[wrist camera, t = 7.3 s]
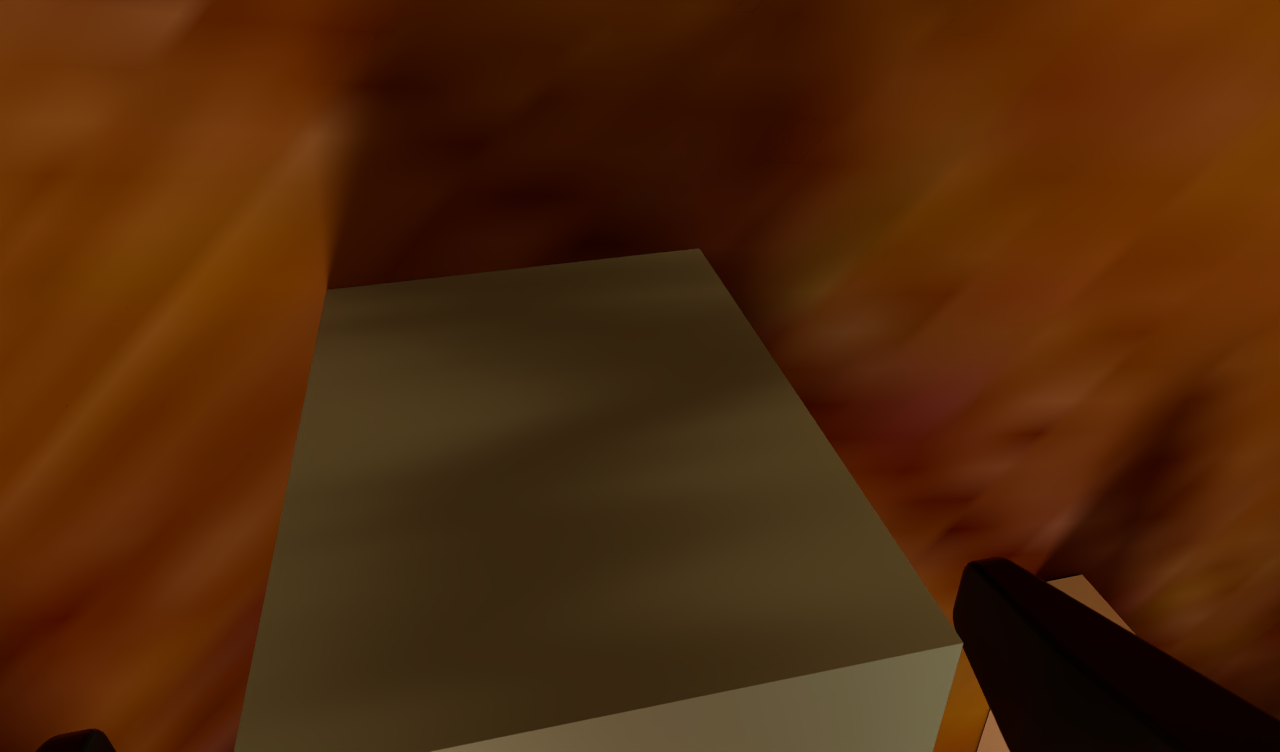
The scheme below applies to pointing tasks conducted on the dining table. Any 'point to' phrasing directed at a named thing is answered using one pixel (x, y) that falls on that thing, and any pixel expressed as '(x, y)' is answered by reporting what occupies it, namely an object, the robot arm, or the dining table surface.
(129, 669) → the dining table surface
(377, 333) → the block
